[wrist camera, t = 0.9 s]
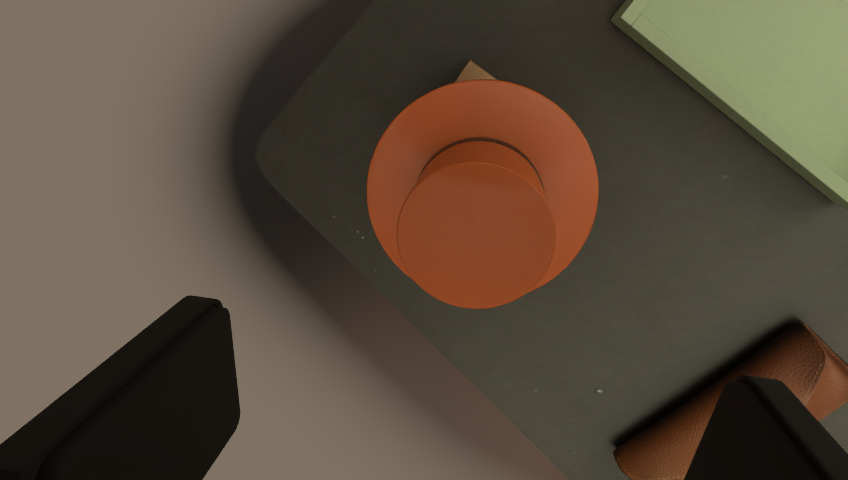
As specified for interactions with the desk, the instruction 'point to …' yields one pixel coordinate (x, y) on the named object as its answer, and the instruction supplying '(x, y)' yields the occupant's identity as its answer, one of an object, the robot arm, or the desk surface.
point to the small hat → (482, 192)
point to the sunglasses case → (684, 427)
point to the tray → (762, 72)
